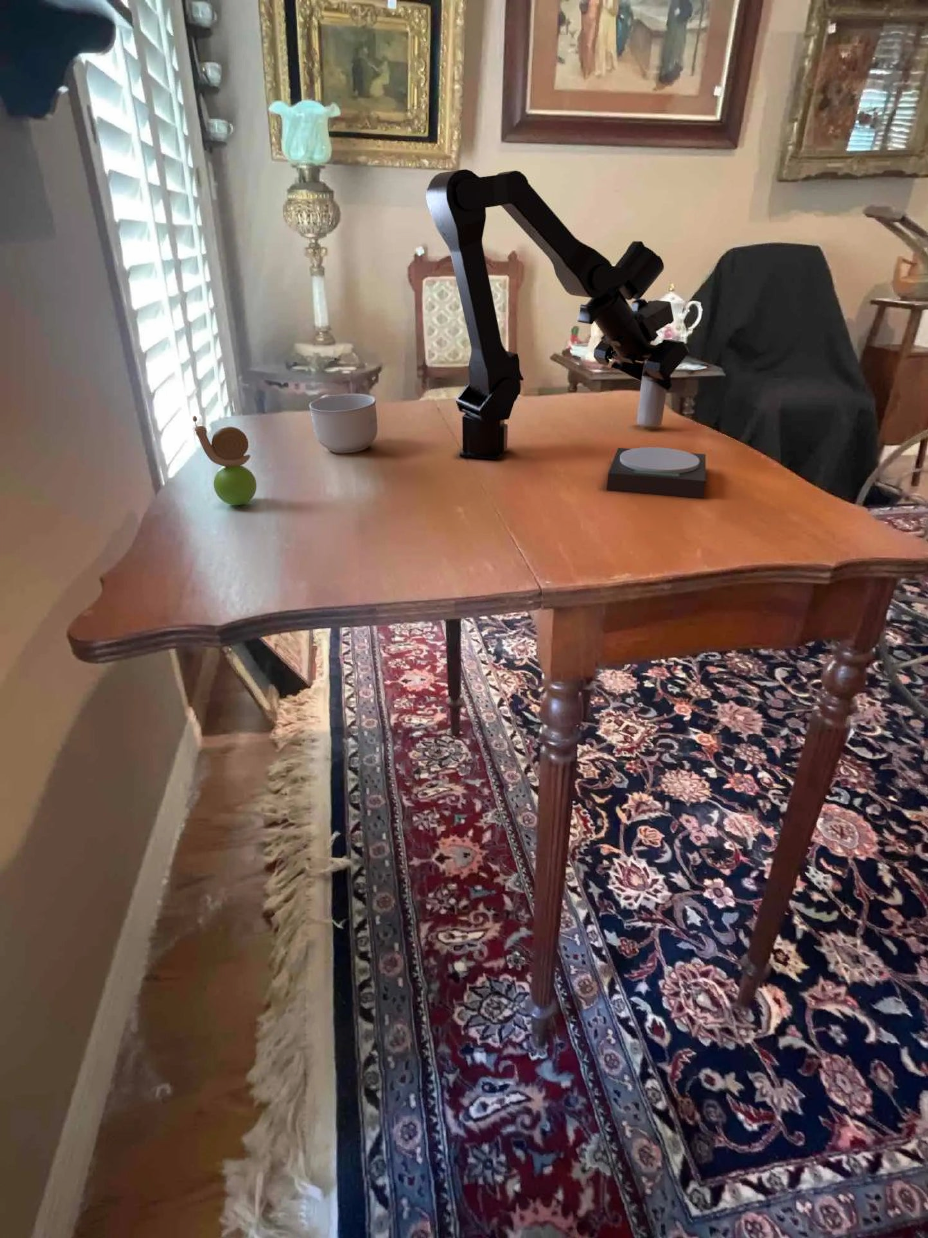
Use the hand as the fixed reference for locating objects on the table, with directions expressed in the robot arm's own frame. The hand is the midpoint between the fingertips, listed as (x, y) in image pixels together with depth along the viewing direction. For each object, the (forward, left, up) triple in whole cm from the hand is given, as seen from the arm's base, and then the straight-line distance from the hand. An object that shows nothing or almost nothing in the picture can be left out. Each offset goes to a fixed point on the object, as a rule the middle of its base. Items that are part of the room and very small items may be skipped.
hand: (660, 385), depth 123 cm
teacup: (-50, -27, -8) cm, 57 cm away
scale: (+2, -31, -7) cm, 32 cm away
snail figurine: (-52, -57, -8) cm, 77 cm away
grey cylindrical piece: (-1, -1, -7) cm, 7 cm away
